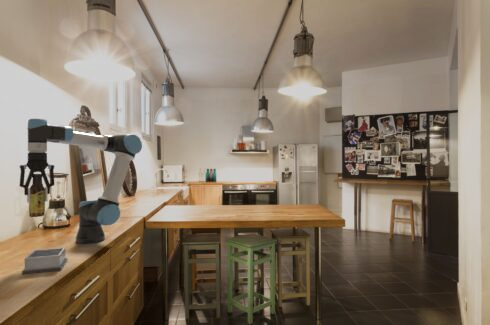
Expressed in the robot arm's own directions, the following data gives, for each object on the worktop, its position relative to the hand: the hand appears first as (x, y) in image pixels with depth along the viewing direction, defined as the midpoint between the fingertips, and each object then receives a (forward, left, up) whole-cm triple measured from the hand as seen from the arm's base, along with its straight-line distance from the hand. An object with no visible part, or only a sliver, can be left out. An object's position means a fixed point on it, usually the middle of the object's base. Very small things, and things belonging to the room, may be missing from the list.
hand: (37, 201), depth 148 cm
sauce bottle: (0, 0, -7) cm, 7 cm away
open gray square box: (0, +15, -27) cm, 31 cm away
